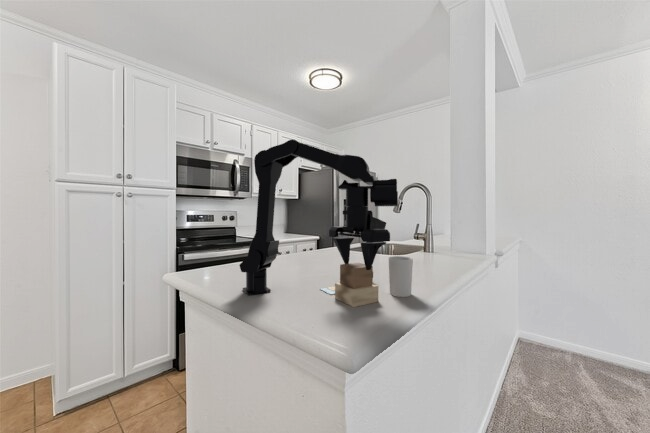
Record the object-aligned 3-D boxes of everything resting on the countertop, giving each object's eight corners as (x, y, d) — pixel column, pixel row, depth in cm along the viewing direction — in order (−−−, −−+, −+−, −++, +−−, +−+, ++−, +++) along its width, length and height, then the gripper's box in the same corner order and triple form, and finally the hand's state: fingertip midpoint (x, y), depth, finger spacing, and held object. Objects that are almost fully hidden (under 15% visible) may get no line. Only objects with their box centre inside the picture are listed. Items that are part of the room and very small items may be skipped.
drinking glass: (397, 298, 72) (397, 260, 72) (383, 291, 78) (383, 256, 78) (417, 295, 74) (418, 259, 74) (403, 289, 81) (403, 255, 81)
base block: (335, 298, 72) (335, 283, 72) (358, 293, 76) (358, 279, 76) (353, 307, 65) (353, 290, 65) (378, 301, 70) (378, 285, 69)
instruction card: (319, 289, 80) (319, 288, 80) (344, 285, 85) (344, 284, 85) (330, 294, 75) (330, 293, 75) (356, 290, 80) (356, 289, 80)
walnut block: (340, 283, 72) (340, 264, 72) (358, 280, 75) (358, 262, 75) (353, 288, 67) (353, 268, 67) (372, 285, 70) (372, 266, 70)
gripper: (406, 206, 67) (406, 269, 67) (359, 207, 83) (359, 258, 83) (371, 205, 61) (371, 275, 61) (328, 207, 77) (328, 262, 77)
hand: (357, 266), depth 71 cm, fingers open, 9 cm apart
